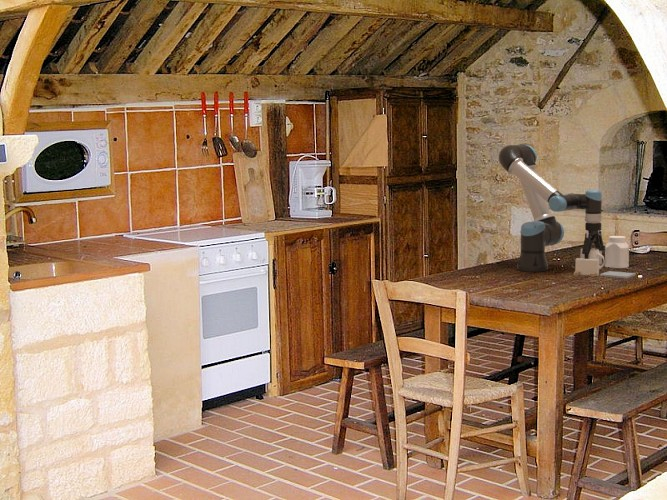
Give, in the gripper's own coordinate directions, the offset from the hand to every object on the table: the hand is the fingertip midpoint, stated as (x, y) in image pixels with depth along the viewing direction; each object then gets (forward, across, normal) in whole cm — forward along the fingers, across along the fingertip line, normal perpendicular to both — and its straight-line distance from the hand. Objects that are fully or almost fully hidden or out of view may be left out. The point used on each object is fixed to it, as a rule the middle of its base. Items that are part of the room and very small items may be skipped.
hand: (593, 265), depth 458 cm
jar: (+3, +20, -4) cm, 21 cm away
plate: (+3, -7, -15) cm, 17 cm away
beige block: (+3, -13, -2) cm, 14 cm away
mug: (+3, 0, 0) cm, 3 cm away
